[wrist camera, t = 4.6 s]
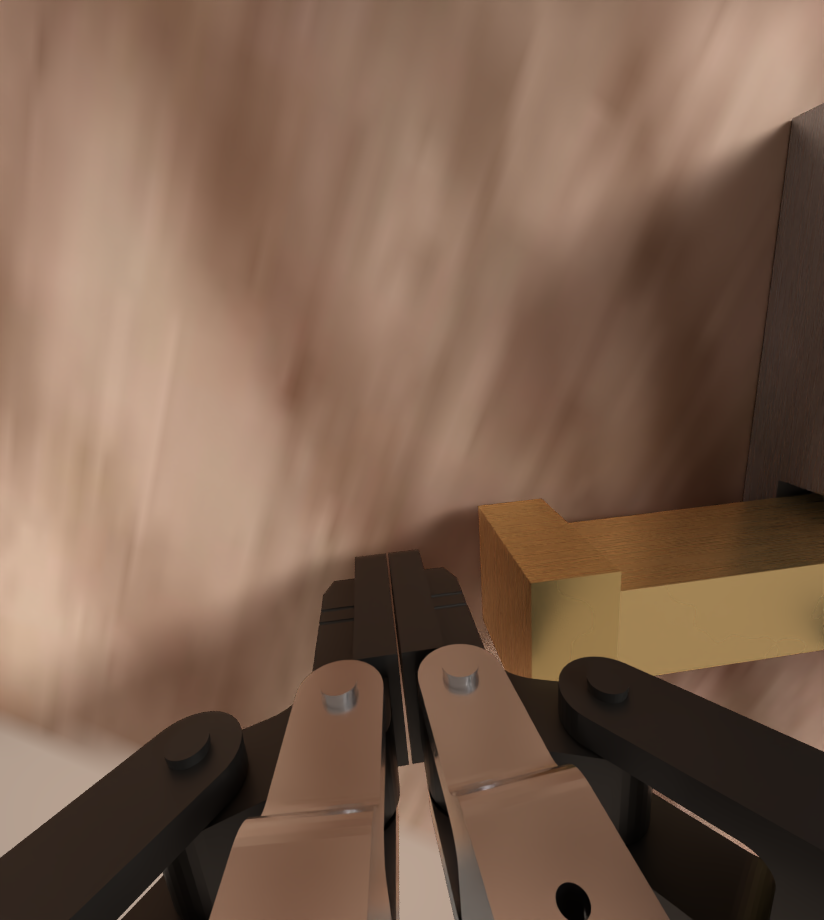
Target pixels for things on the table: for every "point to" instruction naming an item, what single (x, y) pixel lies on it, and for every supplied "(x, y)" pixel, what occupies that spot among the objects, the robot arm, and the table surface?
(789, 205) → the socket block
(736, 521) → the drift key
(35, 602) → the table surface
